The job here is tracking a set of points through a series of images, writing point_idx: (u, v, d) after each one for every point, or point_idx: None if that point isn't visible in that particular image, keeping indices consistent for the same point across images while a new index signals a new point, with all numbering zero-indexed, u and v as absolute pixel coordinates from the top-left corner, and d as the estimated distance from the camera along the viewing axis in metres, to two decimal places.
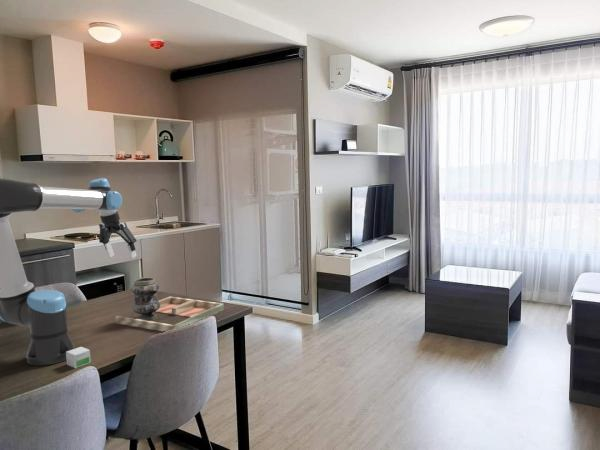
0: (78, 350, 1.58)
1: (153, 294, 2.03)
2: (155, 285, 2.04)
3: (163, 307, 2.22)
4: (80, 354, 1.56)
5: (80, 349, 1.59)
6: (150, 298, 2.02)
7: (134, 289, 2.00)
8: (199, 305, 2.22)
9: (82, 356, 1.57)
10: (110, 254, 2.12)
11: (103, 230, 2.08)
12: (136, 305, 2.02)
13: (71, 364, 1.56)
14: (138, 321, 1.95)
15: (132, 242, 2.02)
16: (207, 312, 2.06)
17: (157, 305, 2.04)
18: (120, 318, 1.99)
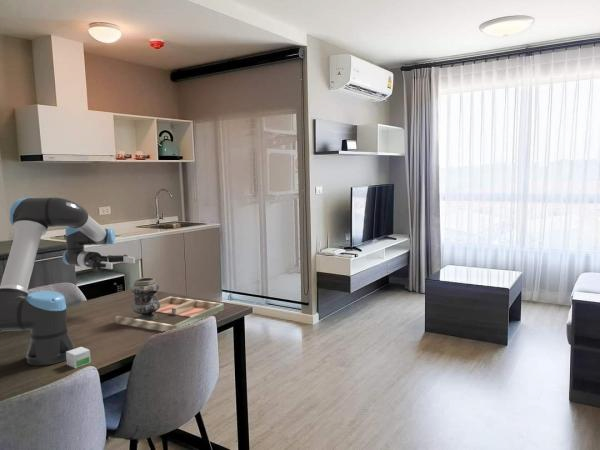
0: (78, 350, 1.58)
1: (153, 294, 2.03)
2: (155, 285, 2.04)
3: (163, 307, 2.22)
4: (80, 354, 1.56)
5: (80, 349, 1.59)
6: (150, 298, 2.02)
7: (134, 289, 2.00)
8: (199, 305, 2.22)
9: (82, 356, 1.57)
10: None
11: None
12: (136, 305, 2.02)
13: (71, 364, 1.56)
14: (138, 321, 1.95)
15: (126, 255, 2.21)
16: (207, 312, 2.06)
17: (157, 305, 2.04)
18: (120, 318, 1.99)
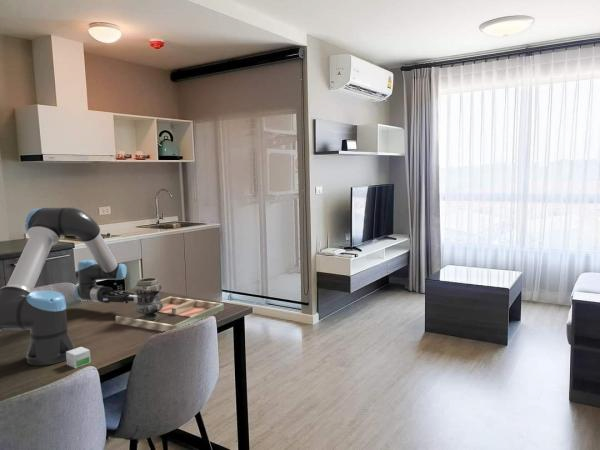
0: (78, 350, 1.58)
1: (156, 294, 2.03)
2: (158, 285, 2.03)
3: (163, 307, 2.22)
4: (80, 354, 1.56)
5: (80, 349, 1.59)
6: (153, 299, 2.02)
7: (137, 289, 2.00)
8: (199, 305, 2.22)
9: (82, 356, 1.57)
10: None
11: None
12: (139, 305, 2.01)
13: (71, 364, 1.56)
14: (138, 321, 1.95)
15: (133, 293, 2.15)
16: (207, 312, 2.06)
17: (160, 305, 2.04)
18: (120, 318, 1.99)
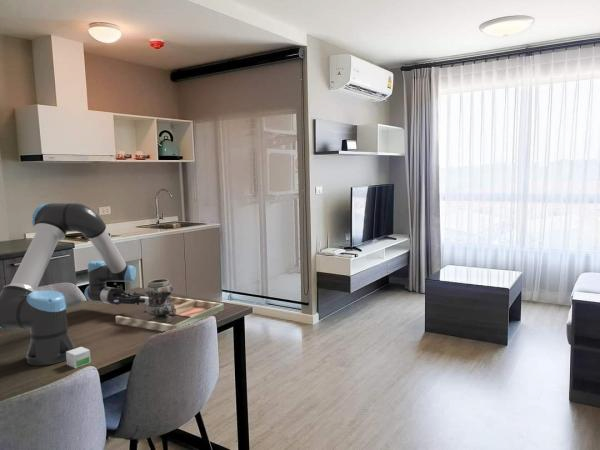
0: (78, 350, 1.58)
1: (167, 296, 2.00)
2: (169, 287, 2.00)
3: None
4: (80, 354, 1.56)
5: (80, 349, 1.59)
6: (164, 300, 1.99)
7: (148, 291, 1.97)
8: (199, 305, 2.22)
9: (82, 356, 1.57)
10: None
11: None
12: (150, 307, 1.98)
13: (71, 364, 1.56)
14: (138, 321, 1.95)
15: (144, 295, 2.12)
16: (207, 312, 2.06)
17: (171, 307, 2.01)
18: (120, 318, 1.99)
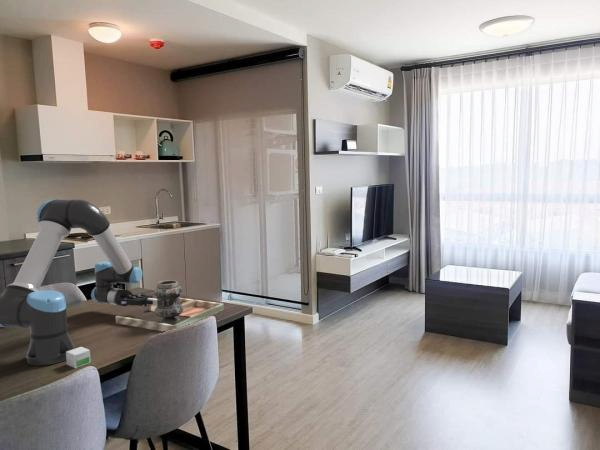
0: (78, 350, 1.58)
1: (175, 298, 1.97)
2: (178, 288, 1.97)
3: None
4: (80, 354, 1.56)
5: (80, 349, 1.59)
6: (173, 302, 1.96)
7: (156, 292, 1.95)
8: (199, 305, 2.22)
9: (82, 356, 1.57)
10: None
11: None
12: (158, 308, 1.96)
13: (71, 364, 1.56)
14: (138, 321, 1.95)
15: (152, 296, 2.09)
16: (207, 312, 2.06)
17: (179, 309, 1.97)
18: (120, 318, 1.99)
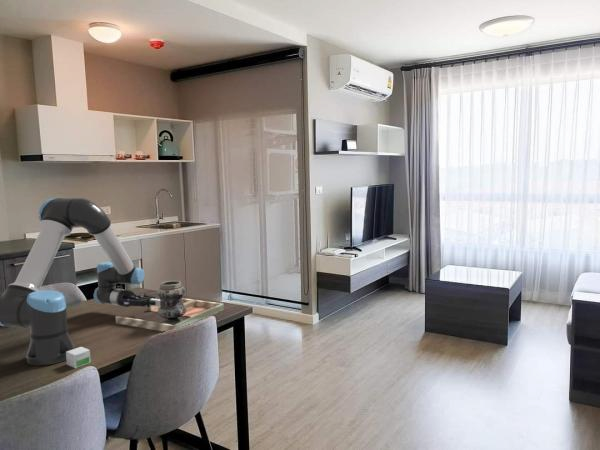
0: (78, 350, 1.58)
1: (179, 298, 1.96)
2: (181, 289, 1.96)
3: None
4: (80, 354, 1.56)
5: (80, 349, 1.59)
6: (176, 303, 1.95)
7: (159, 293, 1.93)
8: (199, 305, 2.22)
9: (82, 356, 1.57)
10: None
11: None
12: (161, 309, 1.95)
13: (71, 364, 1.56)
14: (138, 321, 1.95)
15: (154, 297, 2.08)
16: (207, 312, 2.06)
17: (183, 310, 1.96)
18: (120, 318, 1.99)
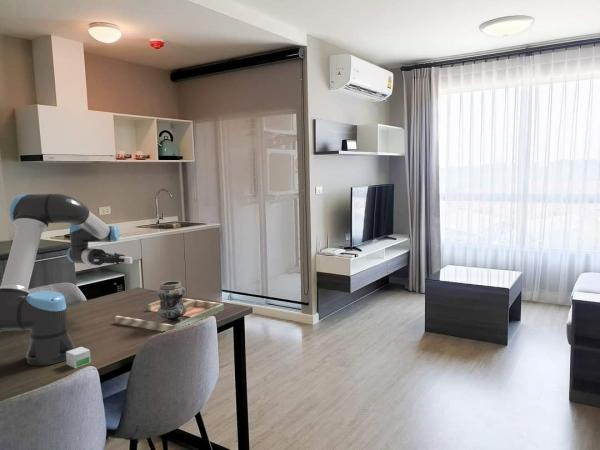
0: (78, 350, 1.58)
1: (179, 298, 1.96)
2: (181, 289, 1.96)
3: None
4: (80, 354, 1.56)
5: (80, 349, 1.59)
6: (176, 303, 1.95)
7: (159, 293, 1.93)
8: (199, 305, 2.22)
9: (82, 356, 1.57)
10: None
11: None
12: (161, 309, 1.95)
13: (71, 364, 1.56)
14: (138, 321, 1.95)
15: (124, 255, 2.13)
16: (207, 312, 2.06)
17: (183, 310, 1.96)
18: (120, 318, 1.99)
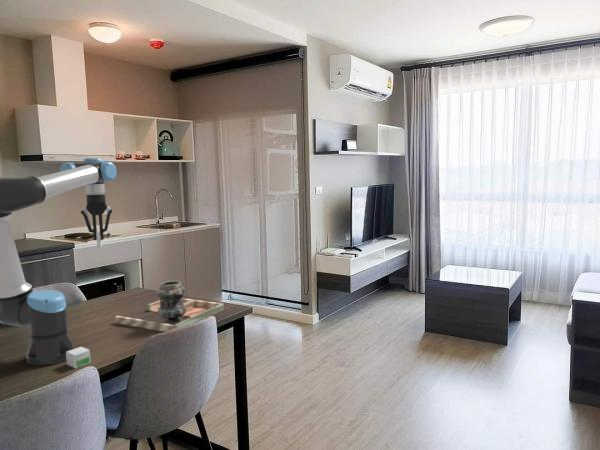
0: (78, 350, 1.58)
1: (179, 298, 1.96)
2: (181, 289, 1.96)
3: None
4: (80, 354, 1.56)
5: (80, 349, 1.59)
6: (176, 303, 1.95)
7: (159, 293, 1.93)
8: (199, 305, 2.22)
9: (82, 356, 1.57)
10: None
11: (87, 216, 2.00)
12: (161, 309, 1.95)
13: (71, 364, 1.56)
14: (138, 321, 1.95)
15: (106, 230, 2.03)
16: (207, 312, 2.06)
17: (183, 310, 1.96)
18: (120, 318, 1.99)
